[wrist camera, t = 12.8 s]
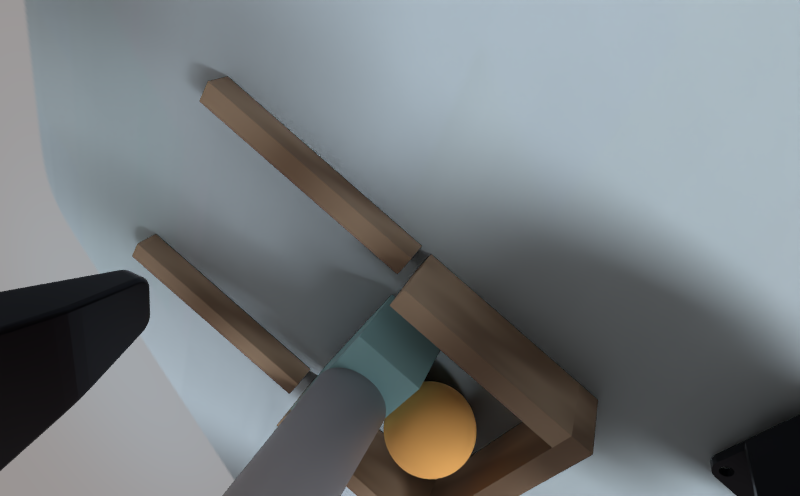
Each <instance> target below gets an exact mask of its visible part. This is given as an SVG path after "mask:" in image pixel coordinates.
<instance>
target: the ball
mask: <svg viewBox="0 0 800 496" xmlns="http://www.w3.org/2000/svg"><path fill="white" fill-rule="evenodd" d="M384 439H385V443H386V446H387V449H388V451H389V453H390V455H391V456H392V458H393V460H394V461H395V462H396V463H397V464H398V465H399V466H400V467H401V468H402V469H403V470H405V471H406V472H407V473H409V474H411V475H413V476H416V477H419V478H423V479H438V478H443V477H446V476H448V475H450V474H452V473H454V472H456V471H457V470H458V469H460V468H461V467H462V466H463V465H464V464H465V462H466V461H467V460H468V458H469V457H470V455H471V453H472V451H473V448H474V445H475V442H476V421H475V417H474V414H473V411H472V409H471V407H470V405H469V403H468V402H467V401H466V399H465V398H464V397H463V396H462V395H461V394H460V393H459V392H458V391H457V390H455V389H454V388H452V387H450V386H448V385H446V384H443V383H440V382H434V381H425V382H423V383H422V385H421V387H420V389H419V390H418V391H416V392H415V393H414V394H413V395H412V396H411V397H409V398H408V399H407V400H406V401H405V402H404V403H402V404H401V405H400V406H399V407H398V408H396V409H395V410H394V411H393V412H392V413H391V414H389V415H388V416H387V417H386V418H385V420H384Z"/></svg>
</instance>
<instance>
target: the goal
mask: <svg viewBox="0 0 800 496" xmlns="http://www.w3.org/2000/svg"><path fill="white" fill-rule="evenodd" d="M200 102H201V103H202V104H203V105H204V106H205V107H207V108H208V109H209V110H210V111H211V112H212V113H213V114H215V115H216V116H217V117H218V118H219V119H220V120H221V121H223V122H224V123H225V124H226V125H227V126H228V127H229V128H231V129H232V130H233V131H234V132H235V133H236V134H237V135H239V136H240V137H241V138H242V139H243V140H244V141H245V142H247V143H248V144H249V145H250V146H251V147H252V148H253V149H255V150H256V151H257V152H258V153H259V154H260V155H261V156H263V157H264V158H265V159H266V160H267V161H268V162H269V163H271V164H272V165H273V166H274V167H275V168H276V169H277V170H279V171H280V172H281V173H282V174H283V175H284V176H285V177H287V178H288V179H289V180H290V181H291V182H292V183H293V184H295V185H296V186H297V187H298V188H299V189H300V190H301V191H303V192H304V193H305V194H306V195H307V196H308V197H309V198H311V199H312V200H313V201H314V202H315V203H316V204H317V205H319V206H320V207H321V208H322V209H323V210H324V211H325V212H327V213H328V214H329V215H330V216H331V217H332V218H334V219H335V220H336V221H337V222H338V223H339V224H340V225H342V226H343V227H344V228H345V229H346V230H347V231H348V232H350V233H351V234H352V235H353V236H354V237H355V238H356V239H358V240H359V241H360V242H361V243H362V244H363V245H364V246H366V247H367V248H368V249H369V250H370V251H371V252H372V253H374V254H375V255H376V256H377V257H378V258H379V259H380V260H382V261H383V262H384V263H385V264H386V265H387V266H388V267H390V268H391V269H392V270H393V271H394V272H395V273H396V274H398V273H399V272H400V271H401V270H402V269H403V268H404V266H405V265H406V264H407V263H408V262H409V261H410V260H411V259H412V257H413V256H414V255H415V254H416V252H417V251H418V250H419V249H420V248H421V245H420V244H419V243H418V242H416V241H415V240H414V239H413V238H412V237H411V236H410V235H408V234H407V233H406V232H405V231H404V230H403V229H402V228H400V227H399V226H398V225H397V224H396V223H395V222H394V221H392V220H391V219H390V218H389V217H388V216H387V215H386V214H384V213H383V212H382V211H381V210H380V209H379V208H378V207H376V206H375V205H374V204H373V203H372V202H371V201H370V200H368V199H367V198H366V197H365V196H364V195H363V194H362V193H360V192H359V191H358V190H357V189H356V188H355V187H354V186H352V185H351V184H350V183H349V182H348V181H347V180H346V179H344V178H343V177H342V176H341V175H340V174H339V173H338V172H336V171H335V170H334V169H333V168H332V167H331V166H329V165H328V164H327V163H326V162H325V161H324V160H323V159H321V158H320V157H319V156H318V155H317V154H316V153H315V152H313V151H312V150H311V149H310V148H309V147H308V146H307V145H305V144H304V143H303V142H302V141H301V140H300V139H299V138H297V137H296V136H295V135H294V134H293V133H292V132H291V131H289V130H288V129H287V128H286V127H285V126H284V125H283V124H281V123H280V122H279V121H278V120H277V119H276V118H275V117H273V116H272V115H271V114H270V113H269V112H268V111H267V110H265V109H264V108H263V107H262V106H261V105H260V104H259V103H257V102H256V101H255V100H254V99H253V98H252V97H251V96H249V95H248V94H247V93H246V92H245V91H244V90H242V89H241V88H240V87H239V86H238V85H237V84H236V83H234V82H233V81H232V80H231V79H230V78H229V77H228V76H227V77H223V78H219V79H215V80H211V81H208V82H207V85H206V87H205V89H204V92H203V94H202V96H201V98H200ZM132 257H134V258H135V259H136V260H137V261H138V262H139V263H140V264H142V265H143V266H144V267H145V268H146V269H147V270H148V271H150V272H151V273H152V274H153V275H154V276H155V277H156V278H158V279H159V280H160V281H161V282H162V283H163V284H164V285H166V286H167V287H168V288H169V289H170V290H171V291H172V292H174V293H175V294H176V295H177V296H178V297H179V298H180V299H182V300H183V301H184V302H185V303H186V304H187V305H188V306H190V307H191V308H192V309H193V310H194V311H195V312H196V313H198V314H199V315H200V316H201V317H202V318H203V319H204V320H205V321H207V322H208V323H209V324H210V325H211V326H212V327H213V328H215V329H216V330H217V331H218V332H219V333H220V334H221V335H223V336H224V337H225V338H226V339H227V340H228V341H229V342H231V343H232V344H233V345H234V346H235V347H236V348H237V349H239V350H240V351H241V352H242V353H243V354H244V355H245V356H247V357H248V358H249V359H250V360H251V361H252V362H253V363H255V364H256V365H257V366H258V367H259V368H260V369H261V370H263V371H264V372H265V373H266V374H267V375H268V376H269V377H271V378H272V379H273V380H274V381H275V382H276V383H277V384H279V385H280V386H281V387H282V388H283V389H284V390H285V391H287V392H288V393H289V394H290V393H291V392H292V390H293V389H294V388H295V387H296V386H297V385H298V384H299V383H300V381H301V380H302V379H303V378H304V377H305V375H306V374H307V373H308V372H309V371H310V369H309V368H308V367H307V366H306V365H305V364H304V363H302V362H301V361H300V360H299V359H298V358H297V357H296V356H294V355H293V354H292V353H291V352H290V351H289V350H288V349H286V348H285V347H284V346H283V345H282V344H281V343H280V342H278V341H277V340H276V339H275V338H274V337H273V336H272V335H270V334H269V333H268V332H267V331H266V330H265V329H264V328H263V327H261V326H260V325H259V324H258V323H257V322H256V321H255V320H253V319H252V318H251V317H250V316H249V315H248V314H247V313H245V312H244V311H243V310H242V309H241V308H240V307H239V306H237V305H236V304H235V303H234V302H233V301H232V300H231V299H229V298H228V297H227V296H226V295H225V294H224V293H223V292H221V291H220V290H219V289H218V288H217V287H216V286H215V285H213V284H212V283H211V282H210V281H209V280H208V279H207V278H205V277H204V276H203V275H202V274H201V273H200V272H199V271H197V270H196V269H195V268H194V267H193V266H192V265H191V264H189V263H188V262H187V261H186V260H185V259H184V258H183V257H181V256H180V255H179V254H178V253H177V252H176V251H175V250H173V249H172V248H171V247H170V246H169V245H168V244H167V243H165V242H164V241H163V240H162V239H161V238H160V237H159V236H157V235H156V234H155V235H153V236H151V237H149V238H147V239H145V240H143V241H142V242H140V243H138V244H137V246H136V248H135V251H134V253H133V255H132ZM389 306H391V307H392V308H393V309H394V310H395V311H396V312H397V313H399V314H400V315H401V316H402V317H403V318H404V319H406V320H407V321H408V322H409V323H410V324H411V325H412V326H414V327H415V328H416V329H417V330H418V331H419V332H420V333H422V334H423V335H424V336H425V337H426V338H427V339H428V340H430V341H431V342H432V343H433V344H434V345H435V346H436V347H438V348H439V349H440V350H441V351H442V352H443V353H444V354H446V355H447V356H448V357H449V358H450V359H451V360H452V361H454V362H455V363H456V364H457V365H458V366H459V367H460V368H462V369H463V370H464V371H465V372H466V373H467V374H468V375H470V376H471V377H472V378H473V379H474V380H475V381H476V382H478V383H479V384H480V385H481V386H482V387H483V388H484V389H486V390H487V391H488V392H489V393H490V394H491V395H492V396H494V397H495V398H496V399H497V400H498V401H499V402H500V403H502V404H503V405H504V406H505V407H506V408H507V409H508V410H510V411H511V412H512V413H513V414H514V415H515V416H516V417H518V418H519V419H520V420H521V421H522V423H520V424H519V425H517V426H516V427H514V428H513V429H511V430H510V431H508V432H507V433H505V434H504V435H502V436H501V437H499V438H498V439H496V440H495V441H493V442H492V443H490V444H489V445H487V446H486V447H484V448H483V449H481V450H480V451H478V452H477V453H475V454H474V455H472V456H471V457H469V458H468V460H467V461H466V462H465V464H464V465H463V466H462V467H461V468H460V469H458V470H457V471H456V472H454V473H452V474H450V475H448V476H446V477H443V478H438V479H423V478H419V477H416V476H413V475H411V474H409V473H407V472H406V471H405V470H403V469H402V468H401V467H400V466H399V465H398V464H397V463H396V462H395V461H394V460H393V458H392V456H391V455H390V453H389V451H388V449H387V446H386V443H385V439H384V433H382V432H381V431H380V430H378V432H377V434H376V435H375V437H374V439H373V441H372V442H371V444H370V446H369V447H368V449H367V451H366V453H365V454H364V456H363V458H362V460H361V461H360V463H359V465H358V467H357V468H356V470H355V472H354V473H353V475H352V477H351V479H350V480H349V482H348V484H347V487H348V488H349V489H350V490H351V491H352V492H353V493H355V494H356V495H357V496H519V495H521V494H523V493H524V492H526V491H528V490H530V489H532V488H533V487H535V486H537V485H539V484H541V483H542V482H544V481H546V480H548V479H550V478H551V477H553V476H555V475H557V474H559V473H560V472H562V471H564V470H566V469H568V468H569V467H571V466H573V465H575V464H577V463H578V462H580V461H582V460H584V459H586V458H587V457H589V456H591V455H593V447H594V437H595V427H596V416H597V406H598V400H597V399H596V398H595V397H594V396H593V395H592V394H591V393H589V392H588V391H587V390H586V389H585V388H584V387H582V386H581V385H580V384H579V383H578V382H577V381H576V380H574V379H573V378H572V377H571V376H570V375H569V374H568V373H566V372H565V371H564V370H563V369H562V368H561V367H560V366H558V365H557V364H556V363H555V362H554V361H553V360H552V359H550V358H549V357H548V356H547V355H546V354H545V353H544V352H542V351H541V350H540V349H539V348H538V347H537V346H536V345H534V344H533V343H532V342H531V341H530V340H529V339H528V338H526V337H525V336H524V335H523V334H522V333H521V332H520V331H518V330H517V329H516V328H515V327H514V326H513V325H512V324H510V323H509V322H508V321H507V320H506V319H505V318H503V317H502V316H501V315H500V314H499V313H498V312H497V311H495V310H494V309H493V308H492V307H491V306H490V305H489V304H487V303H486V302H485V301H484V300H483V299H482V298H481V297H479V296H478V295H477V294H476V293H475V292H474V291H473V290H471V289H470V288H469V287H468V286H467V285H466V284H465V283H463V282H462V281H461V280H460V279H459V278H458V277H457V276H455V275H454V274H453V273H452V272H451V271H450V270H449V269H447V268H446V267H445V266H444V265H443V264H442V263H441V262H439V261H438V260H437V259H436V258H435V257H434V256H433V255H430V256H429V257H428V258H427V259H426V260H425V261H424V262H423V263H422V264H421V265H420V267H419V268H418V269H417V270H416V271H415V273H414V274H413V275H412V276H411V278H410V279H409V280H408V282H407V283H406V284H405V286H404V287H403V288H402V290H401V291H400V292H399V293H398V295H397V296H396V297H395V299H394V300H393V301H392V303H391V304H390V305H389ZM315 379H316V378H315ZM310 385H311V384H310ZM310 385H309V386H310ZM309 386H308V387H309ZM308 387H307V388H308ZM306 390H307V389H306ZM306 390H305V391H306ZM305 391H304V392H305ZM304 392H303V393H304ZM303 393H302V395H303ZM302 395H301V396H302ZM301 396H300V397H301ZM300 397H299V398H300ZM299 398H298V400H299ZM298 400H297V401H298ZM297 401H296V402H297ZM296 402H295V403H296ZM295 403H294V405H295ZM294 405H293V406H294ZM293 406H292V407H293ZM292 407H291V408H292ZM291 408H290V409H291ZM290 411H291V410H289V411H288V412H287V413H286V414H285V416H284V417H283V418H282V419H281V421H280V422H279V423H278V424H277V426H279V425H280V424H281V422H282V421H283V420H284V419H285V417H286V416H287V415H288V414H289V412H290Z"/></svg>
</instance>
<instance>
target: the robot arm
mask: <svg viewBox="0 0 800 496" xmlns="http://www.w3.org/2000/svg"><path fill="white" fill-rule="evenodd" d="M149 318H150V299H149V284H148V282H147V280H146V279H145V278H143V277H141V276H139V275H137V274H135V273H133V272H130V271H127V270H118V271H113V272H107V273H102V274H96V275H91V276H85V277H80V278H74V279H69V280H63V281H58V282H52V283H47V284H41V285H36V286H30V287H25V288H20V289H14V290H8V291H3V292H0V471H1V470H2V469H3V468H4V467H5V466H6V465H7V464H8V463H10V462H11V461H12V460H13V459H14V458H15V457H16V456H18V455H19V454H20V453H21V452H22V451H23V450H24V449H25V448H26V447H27V446H29V445H30V444H31V443H32V442H33V441H34V440H35V439H37V438H38V437H39V436H40V435H41V434H42V433H43V432H44V431H45V430H46V429H48V428H49V427H50V426H51V425H52V424H53V423H54V422H55V421H56V420H58V419H59V418H60V417H61V416H62V415H63V414H64V413H65V412H66V411H68V410H69V409H70V408H71V407H72V406H73V405H74V404H75V403H76V402H77V401H78V400H79V399H80V398H81V397H82V396H83V395H84V394H85V393H86V392H87V391H88V390H89V389H90V388H91V387H92V386H93V385H94V384H95V383H96V382H97V381H98V379H99V378H100V377H101V376H102V375H103V374H104V373H105V372H106V371H107V370H108V369H109V367H111V365H112V364H113V363H114V362H115V361H116V360H117V359H118V358H119V357H120V356H121V354H122V353H123V352H124V351H125V350H126V349H127V348H128V347H129V346H130V345H131V344H132V343H133V342H134V340H135V339H136V338H137V337H138V336H139V335H140V334H141V333H142V332H143V331H144V329H145V328H146V326H147V324H148V322H149ZM710 463H711V470H712V473H713V475H714V476H715V477H716V478H717V479H718V480H719V481H721V482H722V483H723V484H724V485H725V486H726V487H727V488H729V489H730V490H731V491H732V492H733V493H734V494H735V495H737V496H800V415H798V416H796V417H794V418H792V419H790V420H788V421H786V422H783V423H781V424H779V425H777V426H775V427H773V428H771V429H769V430H767V431H765V432H762V433H760V434H758V435H756V436H754V437H752V438H750V439H748V440H746V441H744V442H742V443H740V444H738V445H735V446H733V447H731V448H729V449H727V450H725V451H723V452H721V453H719V454H716V455H715V456H713V457H712V458H711V461H710ZM724 466H727V467H730V468H728V469H725V468H721V467H724Z"/></svg>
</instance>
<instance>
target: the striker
mask: <svg viewBox="0 0 800 496" xmlns="http://www.w3.org/2000/svg"><path fill="white" fill-rule="evenodd" d="M394 299H395V297H394V296H393V295H391V296H390V297H389V298H388V299H387V300H386V301H385V302H384V304H383V305H382V306H381V307H380V308H379V309H378V310H377V311H376V312H375V313H374V314H373V315H372V316H371V318H370V319H369V320H368V321H367V322H366V323H365V324H364V325H363V326H362V327H361V328H360V329H359V331H358V332H357V333H356V334H355V335H354V336H353V337H352V338H351V339H350V340H349V341H348V342H347V343H346V345H345V346H344V347H343V348H342V349H341V350H340V351H339V352H338V353H337V354H336V355H335V356H334V358H333V359H332V360H331V361H330V362H329V363H328V364H327V365H326V366H325V367H324V369H323V370H322V371H321V372H320V374H319V375H318V376H317V377H316V379H315V380H314V381H313V382H312V383H311V385H310V386H309V387H308V388H307V390H306V391H305V392H304V393H303V395H302V396H301V397H300V398H299V400H298V401H297V402H296V403H295V405H294V406H293V407H292V408H291V409H290V410H291V411H290V412H289V414H288V415H287V416H286V417H285V419H284V420H283V421H282V422H281V424H280V425H279V426H278V427H277V429H276V430H275V431H274V432H273V434H272V435H271V436H270V437H269V439H268V440H267V441H266V442H265V443H264V445H263V446H262V447H261V448H260V450H259V451H258V452H257V453H256V455H255V456H254V457H253V458H252V460H251V461H250V462H249V463H248V465H247V466H246V467H245V468H244V470H243V471H242V472H241V473H240V475H239V476H238V477H237V478H236V480H235V481H234V482H233V483H232V485H231V486H230V487H229V488H228V490H227V491H226V492H225V493H224V495H223V496H341V494H342V493H343V491H344V489H345V487H346V486H347V484H348V482H349V480H350V479H351V477H352V475H353V473H354V472H355V470H356V468H357V467H358V465H359V463H360V461H361V460H362V458H363V456H364V454H365V453H366V451H367V449H368V447H369V446H370V444H371V442H372V441H373V439H374V437H375V435H376V434H377V432H378V430H379V428H380V427H381V425H382V423H383V421H384V419H385V418H386V417H387V416H388V415H389V414H391V413H392V412H393V411H394V410H395V409H396V408H398V407H399V406H400V405H401V404H402V403H404V402H405V401H406V400H407V399H408V398H409V397H411V396H412V395H413V394H414V393H415V392H416V391H418V390H419V389H420V387H421V385H422V383H423V381H424V380H425V378H426V376H427V374H428V372H429V370H430V368H431V366H432V365H433V363H434V361H435V359H436V357H437V355H438V353H439V351H440V349H439V348H438V347H436V346H435V345H434V344H433V343H432V342H431V341H430V340H428V339H427V338H426V337H425V336H424V335H423V334H422V333H420V332H419V331H418V330H417V329H416V328H415V327H414V326H412V325H411V324H410V323H409V322H408V321H407V320H406V319H404V318H403V317H402V316H401V315H400V314H399V313H397V312H396V311H395V310H394V309H393V308H392V307H391V306H389V305H390V304H391V303H392V301H393V300H394Z"/></svg>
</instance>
